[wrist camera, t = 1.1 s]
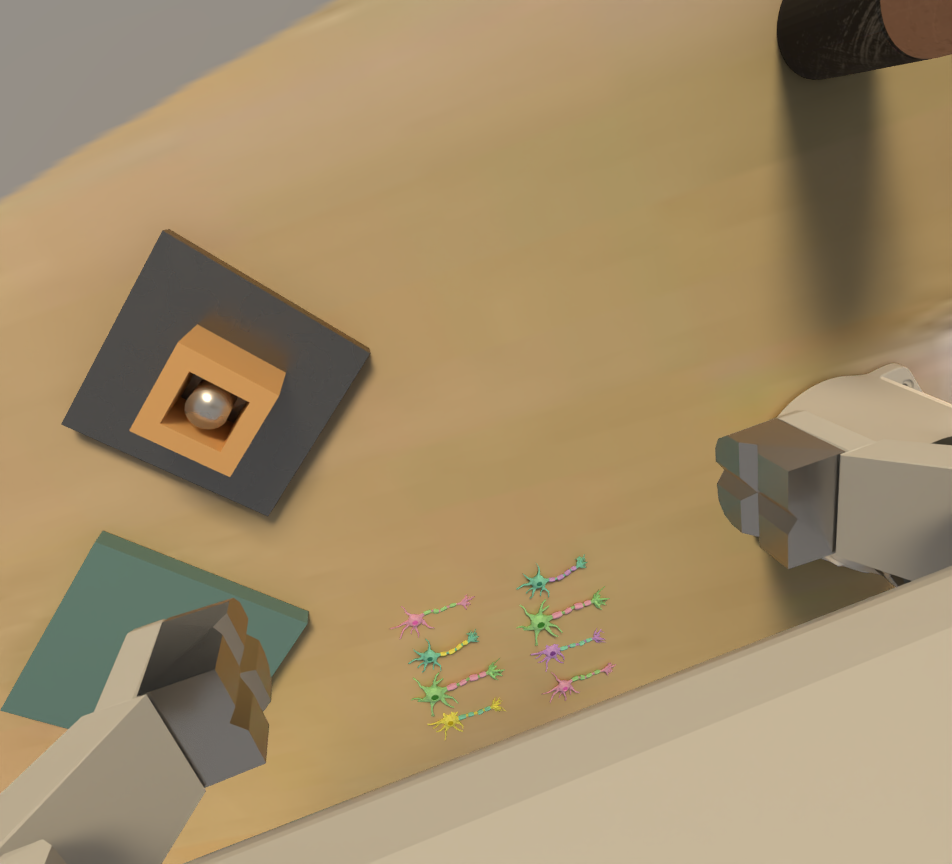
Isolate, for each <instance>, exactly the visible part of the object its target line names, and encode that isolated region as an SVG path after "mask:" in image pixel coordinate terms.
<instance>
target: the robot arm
mask: <svg viewBox="0 0 952 864" xmlns="http://www.w3.org/2000/svg"><path fill="white" fill-rule="evenodd" d="M715 452H716V462H717V463H718V464H719V465H720V466H721V467H722V468H723V469H724V471H723V473H722V475H721V477H720V479H719V481H718V483H717V488H718V499H719V502H720V505H721V507H722V509H723V512H724V514H725V516H726V517H727V518H728V520H729V521H730V522H731V524H732V525H733V526H734V527H736V528H737V529H738V530H739V531H740V532H742V533H745V534H749V535H754V536H758V537H759V543H760V547H761V548H762V549H763V550H764V551H766V552H767V553H768V554H769V555H771V556H772V557H773V558H775V559H776V560H777V561H778V562H780V563H781V564H782V565H784V566H785V567H786V568H787V569H790V568H793V567H796V566H799V565H802V564H805V563H808V562H811V561H814V560H817V559H823V560H826V561H829V562H832V563H833V564H835V565H837V566H845V567H848V568H851V569H854V570H857V571H860V572H864V573H875V574H879V575H882V576H884V577H885V578H887V579H888V581H889V582H890V583H892V584H893V585H894V586H896V588H893V589H890V590H888V591H885V592H883V593H880V594H878V595H875V596H872V597H870V598H867V599H865V600H862V601H859V602H857V603H854V604H852V605H849V606H846V607H844V608H841V609H839V610H836V611H834V612H831V613H828V614H826V615H823V616H821V617H818V618H815V619H813V620H810V621H808V622H805V623H803V624H800V625H797V626H795V627H792V628H790V629H787V630H784V631H782V632H779V633H777V634H774V635H772V636H769V637H766V638H764V639H761V640H759V641H756V642H753V643H751V644H748V645H746V646H743V647H741V648H738V649H735V650H733V651H730V652H728V653H725V654H722V655H720V656H717V657H715V658H712V659H710V660H707V661H704V662H702V663H699V664H697V665H694V666H692V667H689V668H686V669H684V670H681V671H679V672H676V673H674V674H671V675H668V676H666V677H663V678H661V679H658V680H656V681H653V682H650V683H648V684H645V685H643V686H640V687H638V688H635V689H633V690H630V691H627V692H625V693H622V694H620V695H617V696H615V697H612V698H609V699H607V700H604V701H602V702H599V703H597V704H594V705H591V706H589V707H586V708H584V709H581V710H579V711H576V712H574V713H571V714H568V715H566V716H563V717H561V718H558V719H555V720H553V721H550V722H548V723H545V724H543V725H540V726H537V727H535V728H532V729H530V730H527V731H524V732H522V733H519V734H517V735H514V736H512V737H509V738H506V739H504V740H501V741H499V742H496V743H494V744H491V745H488V746H486V747H483V748H481V749H478V750H475V751H473V752H470V753H468V754H465V755H463V756H460V757H457V758H455V759H452V760H450V761H447V762H444V763H442V764H439V765H437V766H434V767H432V768H429V769H426V770H424V771H421V772H419V773H416V774H413V775H411V776H408V777H406V778H403V779H401V780H398V781H395V782H393V783H390V784H388V785H385V786H383V787H380V788H377V789H375V790H372V791H370V792H367V793H364V794H362V795H359V796H357V797H354V798H352V799H349V800H346V801H344V802H341V803H339V804H336V805H333V806H331V807H328V808H326V809H323V810H321V811H318V812H315V813H313V814H310V815H308V816H305V817H303V818H300V819H297V820H295V821H292V822H290V823H287V824H284V825H282V826H279V827H277V828H274V829H272V830H269V831H266V832H264V833H261V834H259V835H256V836H253V837H251V838H248V839H246V840H243V841H241V842H238V843H235V844H233V845H230V846H228V847H225V848H222V849H220V850H217V851H215V852H212V853H210V854H207V855H204V856H202V857H199V858H197V859H194V860H192V861H189V862H186V863H184V864H952V404H950V403H947V402H945V401H942V400H940V399H937V398H935V397H933V396H930V395H928V394H925V393H923V392H922V390H921V388H920V387H919V385H918V383H917V382H916V380H915V378H914V376H913V375H912V373H911V372H910V370H909V369H908V368H906V367H904V366H902V365H900V364H897V363H892V364H888V365H885V366H883V367H881V368H878V369H876V370H874V371H872V372H870V373H868V374H864V375H854V376H841V377H836V378H832V379H829V380H826V381H823V382H821V383H819V384H817V385H815V386H813V387H811V388H809V389H808V390H806V391H804V392H803V393H802V394H800V395H799V396H798V397H796V398H795V399H794V400H793V401H792V402H791V403H790V404H788V405H787V406H786V407H785V409H784V410H783V411H782V412H781V413H780V414H779V415H778V417H777V418H774V419H771V420H769V421H766V422H764V423H761V424H758V425H755V426H753V427H750V428H747V429H744V430H741V431H739V432H736V433H733V434H730V435H727V436H725V437H722V438H719V439H718V441H717V444H716V448H715ZM247 625H248V617H247V615H246V613H245V611H244V609H243V607H242V605H241V603H240V602H239V601H238V600H236V599H235V598H231V599H228V600H224V601H221V602H218V603H215V604H211V605H208V606H205V607H202V608H198V609H195V610H192V611H189V612H186V613H182V614H179V615H176V616H173V617H169V618H168V619H162V620H159V621H156V622H153V623H150V624H147V625H145V626H142V627H139V628H136V629H134V630H132V631H130V632H129V633H127V635H126V637H125V639H124V642H123V644H122V646H121V649H120V651H119V654H118V656H117V658H116V661H115V663H114V665H113V668H112V670H111V672H110V675H109V677H108V679H107V682H106V684H105V687H104V689H103V691H102V694H101V696H100V698H99V701H98V703H97V705H96V708H95V710H94V712H93V713H90V714H87V715H85V716H82V717H81V718H80V719H79V720H78V721H77V722H76V723H74V724H73V725H72V726H71V727H70V728H69V729H68V730H67V731H66V732H65V733H64V734H63V735H62V736H61V737H60V738H59V739H58V740H57V741H55V742H54V743H53V744H52V745H51V746H50V747H49V748H48V749H47V750H46V751H45V752H44V753H43V754H42V755H41V756H40V757H39V758H38V759H36V760H35V761H34V762H33V763H32V764H31V765H30V766H29V767H28V768H27V769H26V770H25V771H24V772H23V773H22V774H21V775H20V776H19V777H17V778H16V779H15V780H14V781H13V782H12V783H11V784H10V785H9V786H8V787H7V788H6V789H5V790H4V791H3V792H2V793H1V794H0V864H162V862H163V860H164V859H165V857H166V856H167V854H168V852H169V851H170V849H171V847H172V846H173V844H174V842H175V841H176V839H177V838H178V836H179V834H180V833H181V831H182V829H183V828H184V826H185V824H186V823H187V821H188V819H189V818H190V816H191V815H192V813H193V811H194V810H195V808H196V806H197V805H198V803H199V801H200V800H201V798H202V796H203V795H204V793H205V792H206V790H205V787H208V786H210V785H213V784H215V783H218V782H220V781H223V780H225V779H228V778H230V777H233V776H235V775H238V774H240V773H243V772H245V771H248V770H250V769H253V768H255V767H258V766H260V765H263V764H265V763H266V756H267V745H268V733H269V723H268V721H267V719H266V717H265V715H264V713H263V711H264V710H265V709H266V707H267V706H268V704H269V703H270V702H271V694H272V682H271V675H270V668H269V664H268V661H267V658H266V655H265V652H264V650H263V648H262V645H261V643H260V641H259V640H257V639H255V638H253V637H251V636H249V635H247V634H246V632H247Z"/></svg>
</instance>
